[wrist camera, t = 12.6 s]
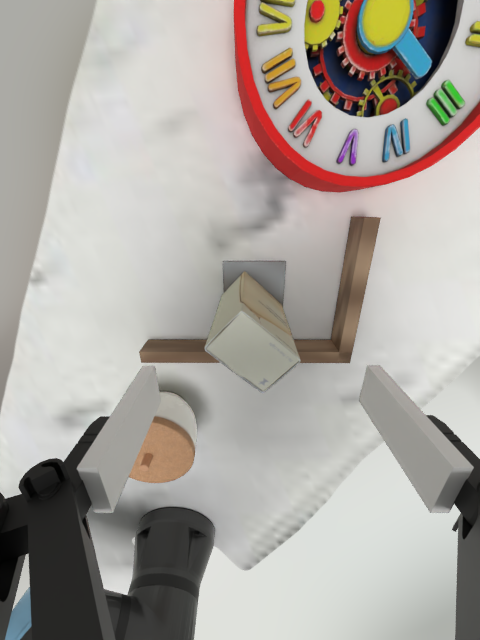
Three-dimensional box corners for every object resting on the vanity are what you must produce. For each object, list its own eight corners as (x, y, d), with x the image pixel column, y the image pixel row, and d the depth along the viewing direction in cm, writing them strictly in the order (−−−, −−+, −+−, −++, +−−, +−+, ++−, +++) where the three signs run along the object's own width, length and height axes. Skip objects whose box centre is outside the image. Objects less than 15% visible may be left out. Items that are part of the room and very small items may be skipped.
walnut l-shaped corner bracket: (340, 349, 32) (349, 362, 29) (150, 349, 32) (141, 362, 29) (365, 216, 25) (380, 217, 23) (126, 218, 26) (112, 219, 23)
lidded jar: (128, 374, 34) (90, 429, 25) (205, 382, 34) (193, 439, 26) (132, 430, 38) (101, 493, 30) (201, 436, 39) (189, 500, 30)
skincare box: (282, 304, 29) (306, 361, 18) (256, 328, 30) (264, 396, 19) (243, 268, 27) (243, 308, 16) (217, 296, 29) (201, 350, 18)
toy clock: (172, 45, 16) (440, -506, 10) (189, 86, 22) (369, -250, 15) (370, 240, 21) (638, -37, 14) (344, 234, 26) (531, 30, 20)
